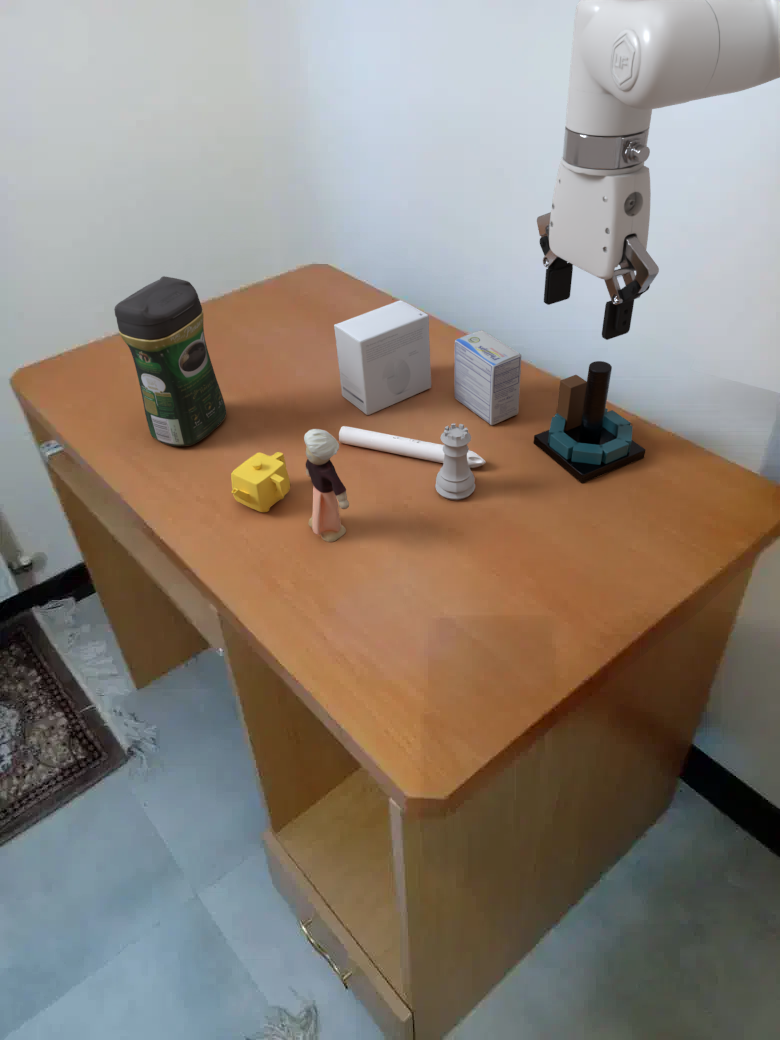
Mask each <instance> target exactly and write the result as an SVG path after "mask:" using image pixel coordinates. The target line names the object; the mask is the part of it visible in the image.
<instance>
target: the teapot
mask: <svg viewBox="0 0 780 1040" xmlns="http://www.w3.org/2000/svg"><path fill="white" fill-rule="evenodd" d="M285 459H286V458H285V454H284V453H283V452H280V451H277V452H274V454H272V455H268V454H265V453H262V452H259V451H258V452H256V453H255V454H253V455H252V456H250V457H248V458H247V459H246V460H245V461H243V462H242V463H241V464H240V465H238V466H237V467H236V468H235V469H234V470H233V471H232V472H231V473H230V479H231V488H232V490H231V491H230V493H231V494H232V495H233V497H234V500H235V501H236V502H237V503H239V504H242V505H243V506H245V507H248V508H249V509H252V510H255V511H257V512H259V513H268V512H269V511H270V508H271V507H273V505H275V504H276V503H278V502H279V501H281V500H283V499H285V496H286V495H287V494H288V493H289V491H290V490H291V481H290V477H289V473H288V469H287V464H286V460H285Z"/></svg>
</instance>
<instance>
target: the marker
mask: <svg viewBox="0 0 780 1040" xmlns="http://www.w3.org/2000/svg"><path fill="white" fill-rule="evenodd" d="M338 442H339V443H341V444H344V445H350V446H355V447H360V448H365V449H371V450H375V451H380V452H385V453H391V454H395V455H400V456H405V457H410V458H414V459H420V460H423V461H424V460H425V461H429V462H430V461H431V462H434V463H435V462H436V463H438V464H439V463H440V464H443V462H444V452H443V450H442V449H443V446H444V445H445V444H442V443H436V442H431V441H425V440H420V439H415V438H409V437H405V436H399V435H394V434H388V433H383V432H378V431H375V430H374V431H373V430H367V429H364V428H357V427H353V426H348V425H347V426H346V425H343V426H341V427H340V429H339V432H338ZM467 461H468V467H469V468H470V469H473V468H478V467H481V466H483V465H485V464H486V463H487V462H486V460H485V459H484V458H483V457H481V456H480V454H477V453H476V452H475V451H473V450H471V449H469V451H468V453H467Z"/></svg>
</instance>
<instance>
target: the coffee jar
mask: <svg viewBox="0 0 780 1040" xmlns="http://www.w3.org/2000/svg"><path fill="white" fill-rule="evenodd" d="M113 310H114V316H115V318H116V323H117V330H118V333H119V335H120V337H121V340H122V341H123V342H124V343H125V344H126V346H127V347H128V348H129V351H130V353H131V354H130V355H131V356H132V359H133V363H134V367H135V371H136V375H137V380H138V384H139V388H140V393H141V399H142V403H143V408H144V409H143V410H144V414H145V419H146V423H147V426H148V430H149V433H150V435H151V437H152V438H153V439H155V440H156V441H158V442H159V443H162V444H164V445H167V446H170V447H188V446H189V447H191V446H193V445H196V444H197V443H200V442H201V441H202V440H203V439H205V438H206V437H207V436H209V435H211V433H212V432H214V431H215V430H216V429H217V428H218V427H219V426H220V425H222V423H223V422H224V420H225V419H226V416H227V407H226V404H225V400H224V397H223V393H222V391H221V387H220V384H219V383H218V379H217V376H216V374H215V373H216V372H215V369H214V366H213V363H212V360H211V356H210V353H209V350H208V346H207V341H206V337H205V336H206V335H205V330H204V309H203V306H202V303H201V301H200V298H199V294H198V292H197V290H196V289H195V286H193V284H192V283H191V282H189V281H188V280H185V279H181V278H176V277H171V276H165V275H163V276H161V277H160V278H159V279H157V280H155V281H153V282H151V283H149V284H147V285H145V286H144V287H142V288H140V289H139V290H137V291H135V292H134V293H132V294H130V295H129V296H127V297H125V298H124V299H123V300H121V301H119V302H118V303H117V304H116V305H115V306H114V309H113Z"/></svg>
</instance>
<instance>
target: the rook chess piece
mask: <svg viewBox="0 0 780 1040" xmlns="http://www.w3.org/2000/svg"><path fill="white" fill-rule="evenodd" d="M456 425H457V424H456V422H453V423H450V426H449V425H446V426H445V427H444V430H443V432H442V433H441V434H440V437H439V438H440V441H441V442H442V444H443V445H444V446H443V449H442V450H443V452H444V462H443V463H442V466H441V467H440V468H439V471H438V472H437V474H436V477H435V485H434V487H435V490H436V492H437V493H438V494H439V495H440V496H441V497H442V498H444V499H447V500H450V501H459V500H465V499H466V498H468V497H469V496H470V495H472V493H473V492H474V491H475V489H476V484H475V481H476V478H475V476H474V473H473V471H472V470H471V468H469V467H468V461H467V453H468V451H469V450H470V448H469V445H468V444H469V443H470V442H471V440H472V435H471V433H470V432H469V429H468V427H467V426H466V427H465V424H462V423H459V424H458V426H456Z"/></svg>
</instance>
